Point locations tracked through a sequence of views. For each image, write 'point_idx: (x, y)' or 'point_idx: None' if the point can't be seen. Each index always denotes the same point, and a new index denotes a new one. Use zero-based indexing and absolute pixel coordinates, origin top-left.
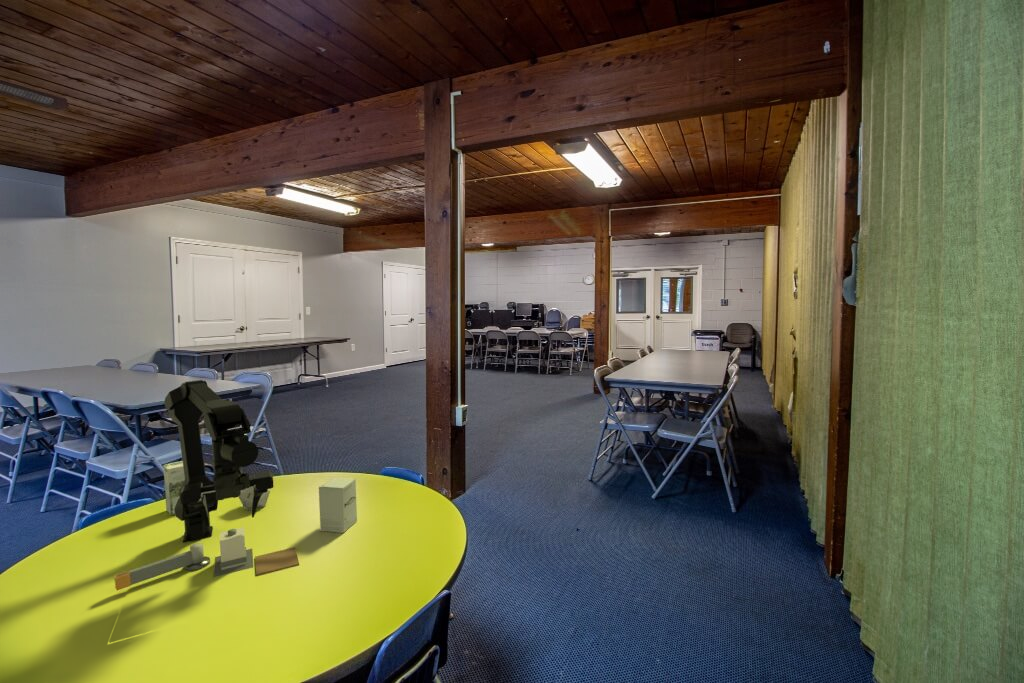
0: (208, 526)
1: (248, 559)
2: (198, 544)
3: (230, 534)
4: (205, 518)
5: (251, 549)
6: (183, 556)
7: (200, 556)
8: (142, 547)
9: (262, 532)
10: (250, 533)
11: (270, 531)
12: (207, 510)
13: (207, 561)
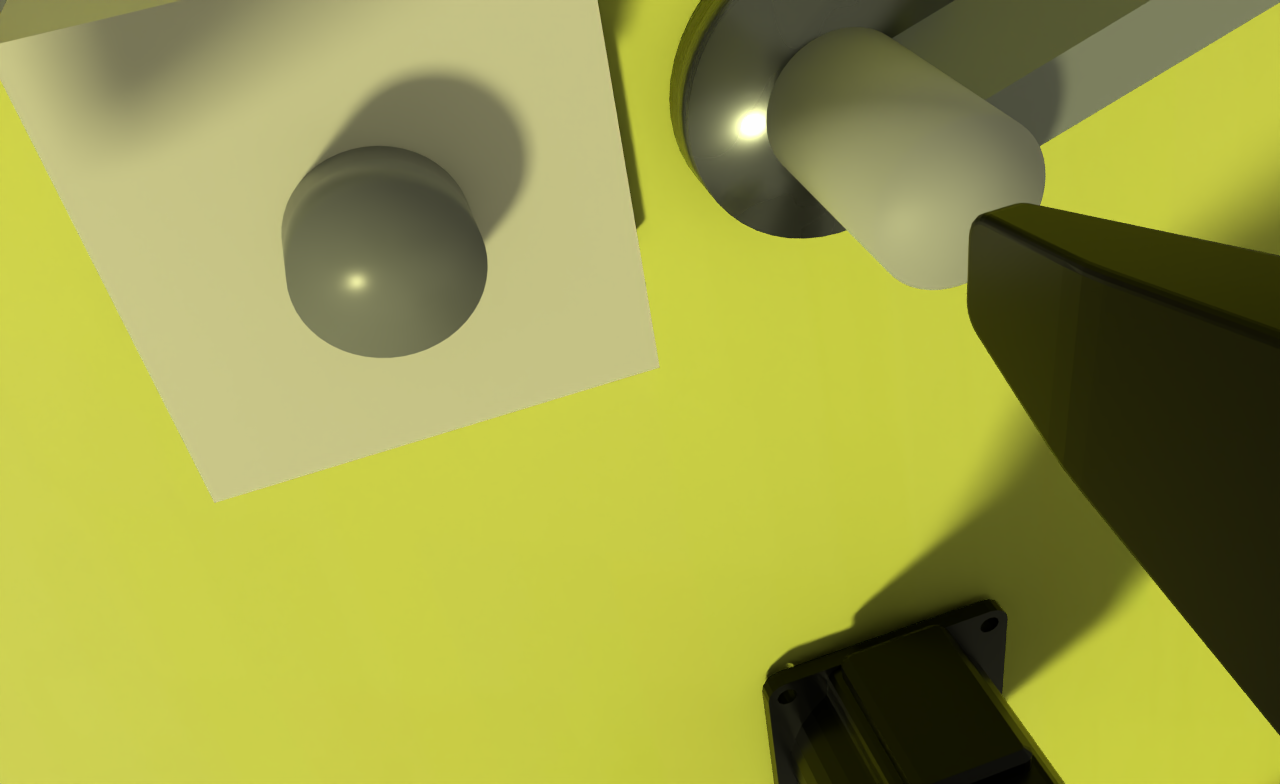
0: (989, 211)
1: None
2: (935, 230)
3: (393, 162)
4: (1248, 281)
5: None
6: (1076, 27)
7: (832, 83)
8: None
9: (217, 743)
10: (364, 728)
11: (114, 760)
12: (1264, 636)
13: (710, 75)
